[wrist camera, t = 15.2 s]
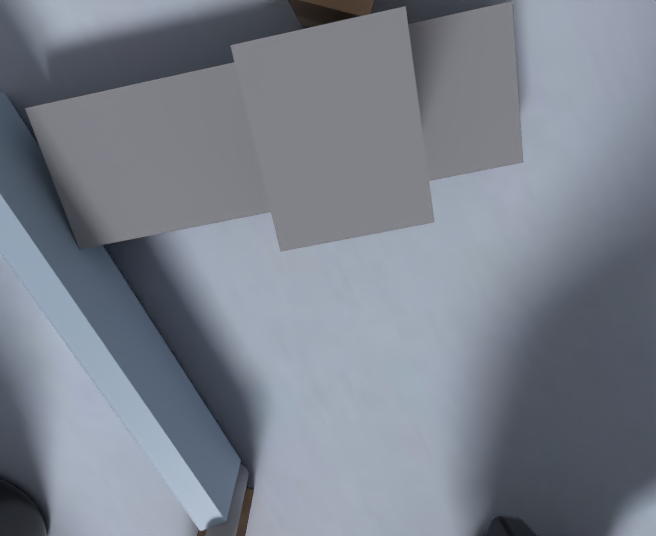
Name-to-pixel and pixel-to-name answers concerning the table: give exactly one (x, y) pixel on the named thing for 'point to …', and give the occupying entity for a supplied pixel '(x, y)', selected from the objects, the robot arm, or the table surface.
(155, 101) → the gray t-shaped pedestal
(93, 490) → the table surface
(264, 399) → the table surface
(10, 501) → the supplement bottle
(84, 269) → the door leaf
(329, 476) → the table surface
